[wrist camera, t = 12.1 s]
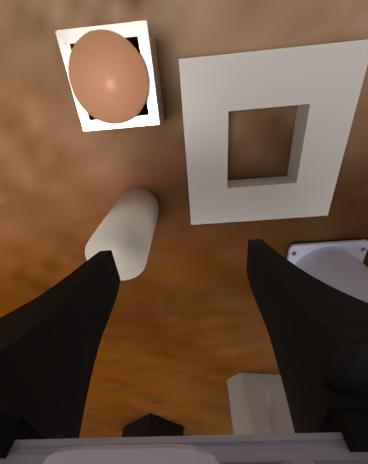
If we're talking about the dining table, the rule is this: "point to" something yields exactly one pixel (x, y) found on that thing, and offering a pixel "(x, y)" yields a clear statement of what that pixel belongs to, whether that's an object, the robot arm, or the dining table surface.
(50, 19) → the dining table surface
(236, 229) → the dining table surface
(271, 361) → the dining table surface
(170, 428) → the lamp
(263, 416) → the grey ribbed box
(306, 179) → the white square frame
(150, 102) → the button housing
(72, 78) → the button
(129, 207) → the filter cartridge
